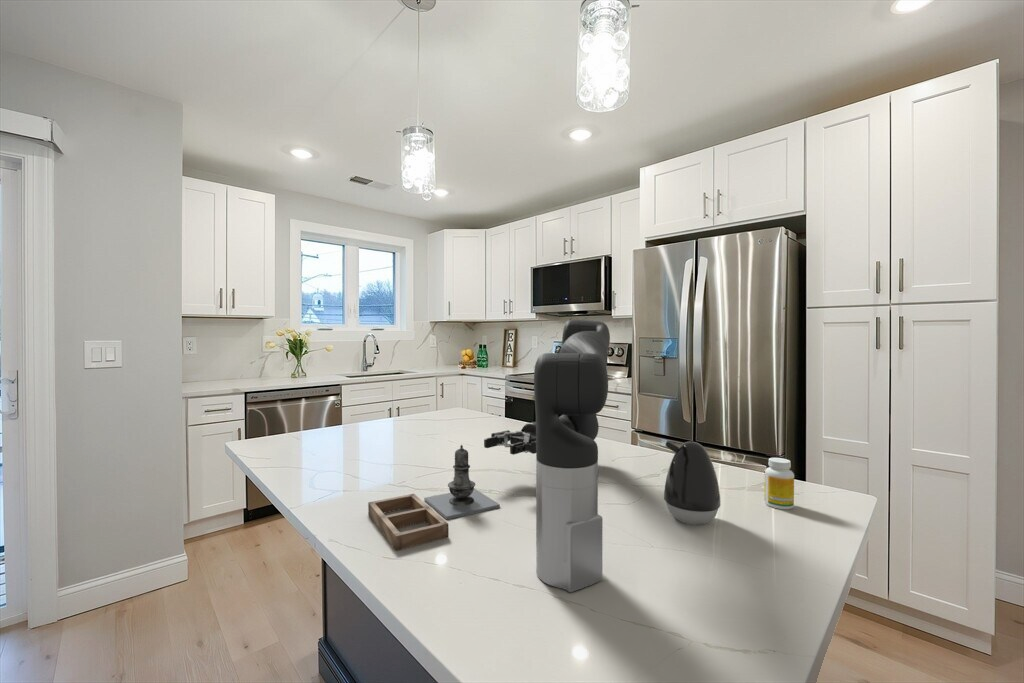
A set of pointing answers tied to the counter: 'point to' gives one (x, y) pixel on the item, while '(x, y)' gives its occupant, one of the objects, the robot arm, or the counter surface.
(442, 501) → the slate tile
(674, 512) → the pump dispenser
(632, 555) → the counter surface
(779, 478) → the supplement bottle
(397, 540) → the spice caddy
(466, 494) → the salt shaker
